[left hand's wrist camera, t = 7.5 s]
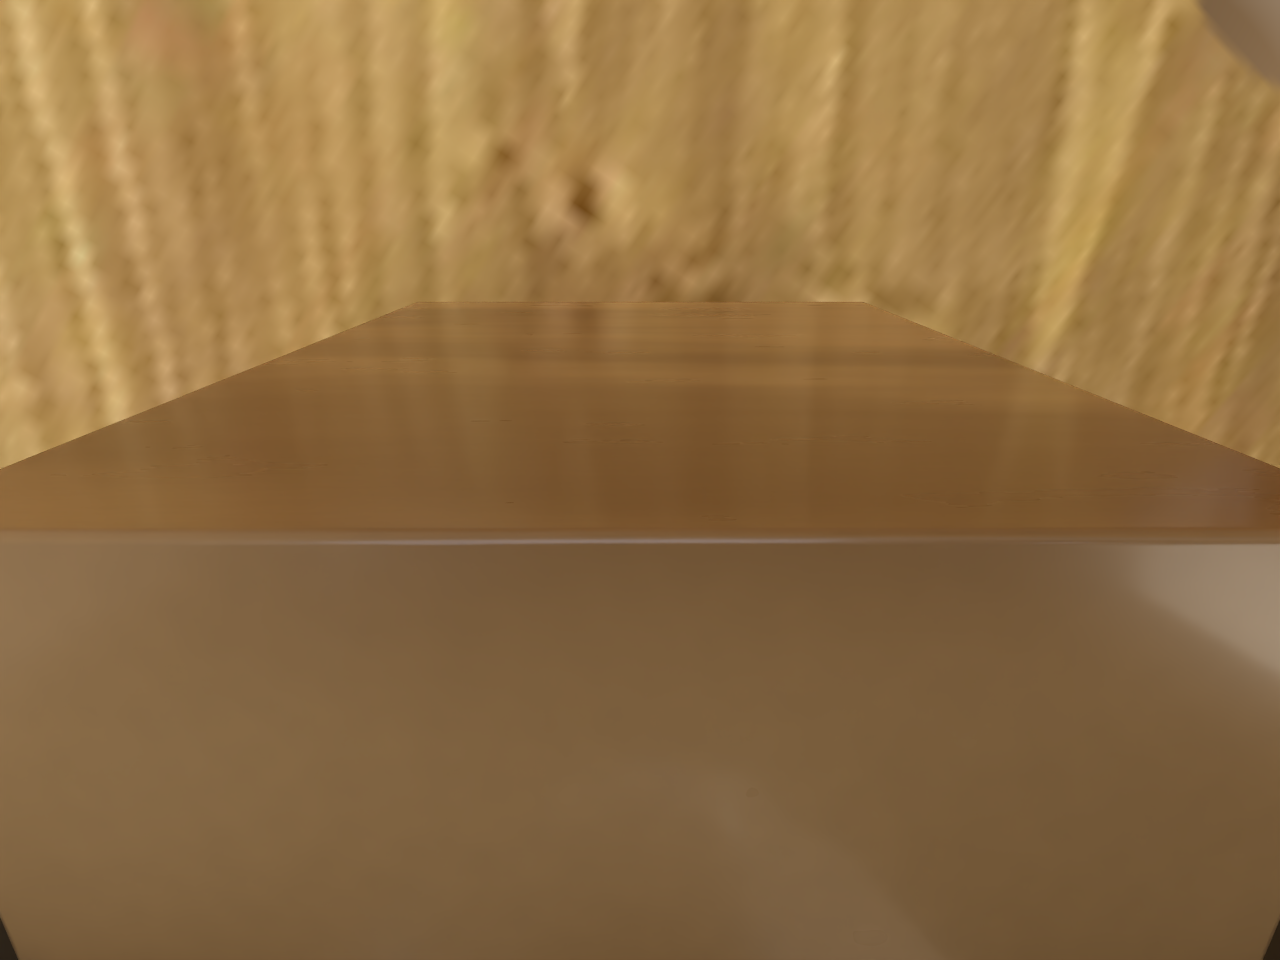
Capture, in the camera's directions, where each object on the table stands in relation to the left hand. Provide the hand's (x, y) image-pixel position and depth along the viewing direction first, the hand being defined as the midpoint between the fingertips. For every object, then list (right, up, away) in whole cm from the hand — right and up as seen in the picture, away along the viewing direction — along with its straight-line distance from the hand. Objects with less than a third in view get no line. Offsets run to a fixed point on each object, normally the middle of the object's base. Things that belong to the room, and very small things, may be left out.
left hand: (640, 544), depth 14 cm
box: (0, -7, +4) cm, 8 cm away
